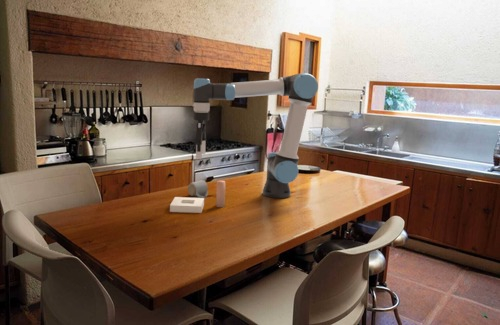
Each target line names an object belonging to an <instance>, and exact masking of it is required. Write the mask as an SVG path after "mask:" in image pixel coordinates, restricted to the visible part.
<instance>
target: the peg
mask: <svg viewBox="0 0 500 325" xmlns="http://www.w3.org/2000/svg"><path fill="white" fill-rule="evenodd" d="M225 197H226V181H225V180H217V181H216V200H215V201H216V203H215V205H216V207H218V208H224V207H225V204H226V201H225V200H226V198H225Z"/></svg>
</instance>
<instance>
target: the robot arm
mask: <svg viewBox="0 0 500 325" xmlns="http://www.w3.org/2000/svg"><path fill="white" fill-rule="evenodd" d="M318 83H319V82H318V80H317V78H316V77H315V76H314V75H312V74H310V73H307V72H303V73H301V72H300V73H295V74H292V75H289V76H288V75H287V76H281V77H279V78H278V79H267V80H253V81H251V80H250V81H239V82H229V83H228V82H227V83H226V82H225V83H221V82H220V83H212V82H211V80H210V79H209V78H195V79H194V81H193V104H192V107H193V115H192V116H193V121H197V123H196V132H195V133H196V135H195V142H194V145H195V159H200V160H201V159H203V155H205V154H206V141H208V137H207V134H206V128H207V127H206V126H207V125H206V122H207V121H209V120H210V111H211V110H210V109H211V108H210V107H211V105H210V100H217V101H218V100H220V101H234V100H235V98H249V97H261V96H262V97H263V96H274V95H279V96H281V97H288V98H287V99H288V102H289V103H290V104H289V106H288V107H289V108H288V113H287V117H286V122H285V126H284V130H283V135H282V139H281V143H280V144H281V145H280V148H279V150H278V151H277V152H269V153H268V154H267V161H266V162H267V163H266V164H267V165H266V181H265V183H264V186H263V188H262V195H263V196H265V197H267V198H273V199H285V198H290V197H291V196H292V195H291V194H292V191H291V188H290V184H291V183H292V182H294V181H296V179H297V177H298V175H299V167H298V164H299V159H300V157H299V155H298V149H299V147H300V146H299V145H300V142H301V136H302V133H303V129H304V124H305V120H306V116H307V111H308V108H309V106H311V105H312V103H313V99H314V97H315V95H317V92H318V89H319V84H318Z"/></svg>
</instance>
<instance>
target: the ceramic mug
mask: <svg viewBox="0 0 500 325" xmlns="http://www.w3.org/2000/svg"><path fill="white" fill-rule="evenodd" d="M208 189H209V188H208V184H207V182H206V181H205V180H203V179H201V180H196V181H193V182H190V183H189V184H188V185H187V192H188V194H189V196H191V197H197V198H204V199H206V198H207V197H208V191H209V190H208Z"/></svg>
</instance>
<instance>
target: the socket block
mask: <svg viewBox="0 0 500 325" xmlns="http://www.w3.org/2000/svg"><path fill="white" fill-rule="evenodd" d="M204 206H205V198H199V197H185V196H184V197H182V196H174V198H173V200H172V201H171V203H170V204H169V212H170V213H190V214H193V213H194V214H197V213H198V214H202V212H203V209H204Z"/></svg>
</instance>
